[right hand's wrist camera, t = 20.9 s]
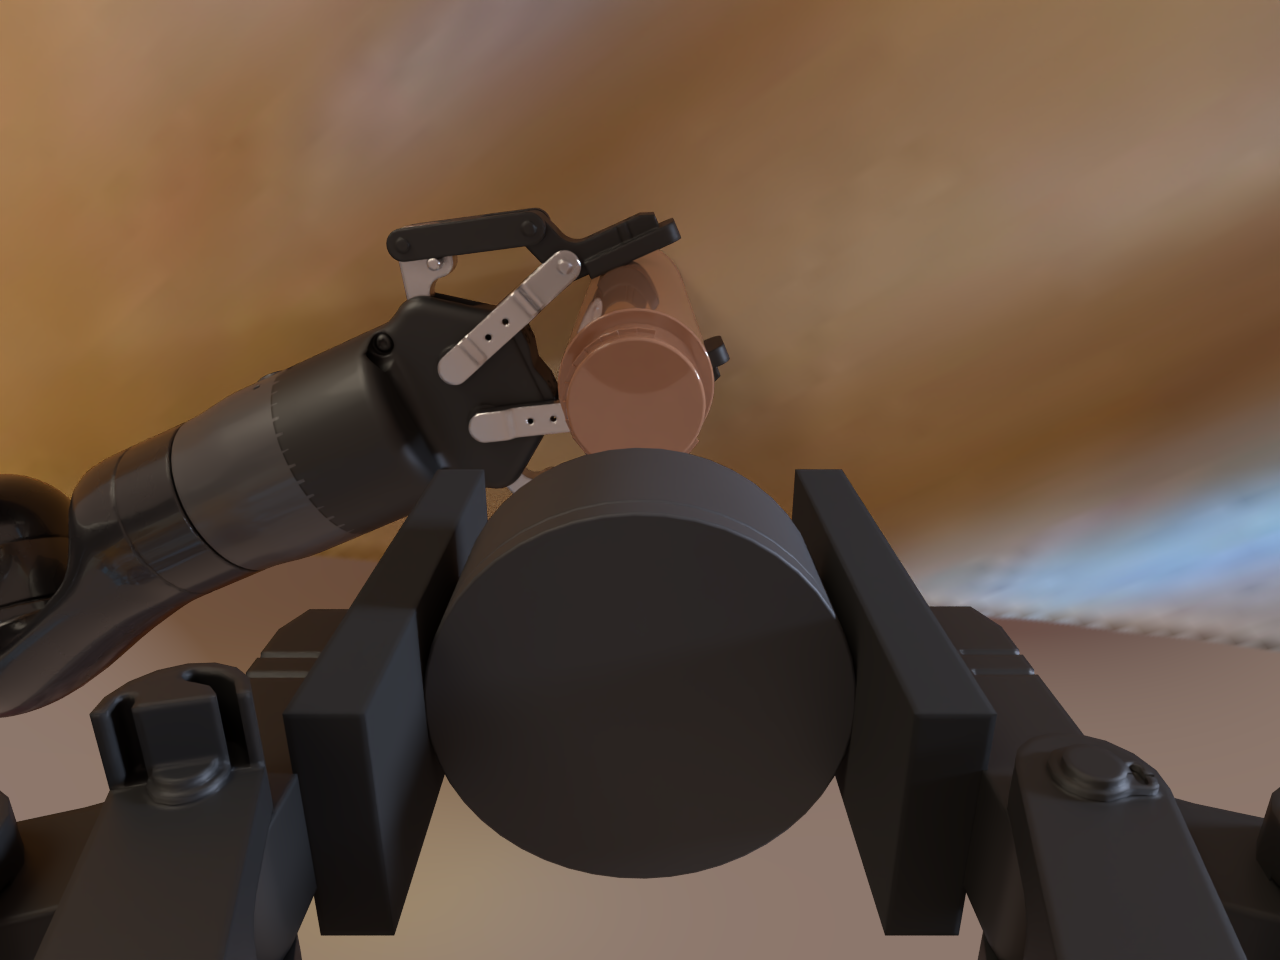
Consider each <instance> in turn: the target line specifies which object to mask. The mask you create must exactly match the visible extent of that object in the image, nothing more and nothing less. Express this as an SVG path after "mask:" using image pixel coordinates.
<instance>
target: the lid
mask: <svg viewBox="0 0 1280 960" xmlns="http://www.w3.org/2000/svg"><path fill="white" fill-rule="evenodd" d="M855 695H856V676H855V670H854V663H853V657H852V654H851V651H850V648H849V645H848V642H847V639H846V636H845V633H844V631H843V628H842V626H841V624H840V622H839V619H838V617H837V614H836V612H835V610H834V607H833V605H832V603H831V600H830V598H829V596H828V593H827V591H826V589H825V586H824V584H823V582H822V579H821V577H820V574H819V572H818V570H817V567H816V565H815V563H814V560H813V558H812V556H811V553H810V551H809V549H808V547H807V545H806V543H805V541H804V539H803V537H802V535H801V533H800V532H799V530H798V529H797V527H796V526H795V525H794V523H793V522H792V520H791V519H790V517H789V516H788V515H787V514H786V512H785V511H784V510H783V509H782V508H781V507H780V506H779V505H778V504H777V503H776V502H775V501H774V500H773V499H772V497H770V496H769V495H768V494H767V493H765V492H764V491H763V490H762V489H760V488H759V487H758V486H757V485H756V484H754V483H753V482H751V481H750V480H748V479H746V478H745V477H743V476H742V475H740V474H738V473H737V472H735V471H733V470H731V469H729V468H727V467H725V466H722V465H720V464H718V463H716V462H713V461H711V460H708V459H705V458H702V457H698V456H695V455H691V454H688V453H684V452H678V451H672V450H666V449H656V448H626V449H614V450H607V451H602V452H598V453H593V454H588V455H584V456H581V457H578V458H576V459H573V460H570V461H567V462H564V463H561V464H559V465H557V466H555V467H553V468H551V469H549V470H547V471H545V472H543V473H541V474H539V475H538V476H537V477H535V478H534V479H532V480H531V481H529V482H528V483H526V484H525V485H523V486H522V487H520V488H519V489H518V490H517V491H516V492H515V493H514V494H512V495H511V496H510V497H509V498H508V499H507V500H506V501H505V502H504V503H502V505H501V506H500V507H499V508H498V509H497V510H496V512H495V513H494V514H493V515H492V516H491V518H490V519H489V520H488V521H487V523H486V524H485V526H484V528H483V529H482V531H481V532H480V534H479V536H478V537H477V539H476V541H475V543H474V545H473V547H472V550H471V552H470V554H469V557H468V559H467V561H466V564H465V566H464V568H463V571H462V573H461V575H460V578H459V580H458V582H457V585H456V587H455V590H454V592H453V594H452V597H451V599H450V601H449V604H448V606H447V608H446V611H445V613H444V616H443V618H442V620H441V623H440V625H439V627H438V630H437V632H436V634H435V637H434V639H433V641H432V644H431V648H430V652H429V656H428V660H427V663H426V668H425V678H424V700H425V711H426V720H427V728H428V733H429V738H430V741H431V744H432V747H433V749H434V752H435V755H436V757H437V760H438V762H439V764H440V766H441V768H442V770H443V772H444V773H445V775H446V777H447V779H448V781H449V783H450V784H451V785H452V787H453V788H454V789H455V791H456V792H457V793H458V795H459V796H460V797H461V799H462V800H463V802H464V803H465V804H466V805H467V806H468V807H469V808H470V809H471V810H472V811H473V812H474V813H475V814H476V815H477V816H478V817H479V818H480V819H481V820H482V821H483V822H484V823H486V824H487V825H488V826H489V827H490V828H492V829H493V830H494V831H495V832H497V833H498V834H499V835H500V836H502V837H504V838H505V839H507V840H508V841H510V842H512V843H513V844H515V845H516V846H518V847H520V848H521V849H523V850H525V851H527V852H529V853H531V854H533V855H536V856H538V857H540V858H542V859H544V860H547V861H549V862H552V863H555V864H558V865H561V866H563V867H566V868H569V869H574V870H578V871H582V872H586V873H590V874H595V875H603V876H610V877H618V878H659V877H672V876H678V875H683V874H689V873H695V872H699V871H702V870H706V869H710V868H713V867H717V866H720V865H723V864H725V863H728V862H730V861H733V860H735V859H738V858H740V857H743V856H745V855H747V854H749V853H751V852H753V851H754V850H756V849H758V848H760V847H762V846H764V845H766V844H767V843H769V842H770V841H772V840H773V839H775V838H776V837H778V836H779V835H780V834H782V833H783V832H785V831H786V830H787V829H789V828H790V827H791V826H792V825H793V824H794V823H795V822H797V821H798V820H799V819H800V818H801V817H802V816H803V815H805V814H806V813H807V811H808V810H809V809H810V808H811V807H812V806H813V805H814V803H815V802H816V801H817V800H818V799H819V798H820V797H821V795H822V794H823V793H824V791H825V790H826V788H827V787H828V785H829V783H830V782H831V781H832V779H833V778H834V776H835V774H836V772H837V770H838V768H839V766H840V764H841V762H842V760H843V758H844V756H845V753H846V750H847V747H848V744H849V741H850V737H851V733H852V724H853V715H854V706H855Z"/></svg>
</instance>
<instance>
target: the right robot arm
mask: <svg viewBox="0 0 1280 960" xmlns="http://www.w3.org/2000/svg"><path fill="white" fill-rule="evenodd" d="M487 521H488V519H487V504H486V490H485V475H484V469H438V470H437V471H436V473H435V474H434V476H433V478H432V479H431V481H430V482H429V484H428V486H427V487H426V489H425V490H424V492H423V493H422V495H421V497H420V498H419V500H418V501H417V503H416V504H415V506H414V508H413V509H412V511H411V512H410V514H409V515H408V517H407V519H406V520H405V522H404V523H403V525H402V526H401V528H400V530H399V531H398V533H397V534H396V536H395V537H394V539H393V541H392V542H391V544H390V545H389V547H388V548H387V550H386V552H385V553H384V555H383V556H382V558H381V559H380V561H379V563H378V564H377V566H376V567H375V569H374V570H373V572H372V574H371V575H370V577H369V578H368V580H367V581H366V583H365V585H364V586H363V588H362V589H361V591H360V592H359V594H358V596H357V597H356V599H355V600H354V602H353V604H352V605H351V607H350V608H349V609H310V610H308V611H306V612H305V613H303V614H302V615H300V616H299V617H297V618H296V619H294V620H292V621H291V622H289V623H288V624H286V625H285V626H283V627H282V628H280V629H279V630H278V631H277V632H276V634H275V635H274V636H273V638H272V639H271V640H270V642H269V643H268V644H267V646H266V647H265V648H264V650H263V651H262V652H261V657H260V658H257V659H256V660H255V662H254V663H253V664H252V665H251V667H250V668H249V669H248V671H247V672H246V675H245V674H244V673H243V672H242V671H240V670H239V669H238V668H236V667H232V666H228V665H223V664H219V663H190V664H184V665H179V666H175V667H170V668H165V669H161V670H157V671H154V672H152V673H149V674H147V675H144V676H142V677H139V678H137V679H134V680H132V681H129V682H127V683H126V684H124V685H123V686H121V687H120V688H118V689H117V690H115V691H113V692H112V693H110V694H109V695H107V696H106V697H104V698H103V699H102V701H101V702H100V703H99V704H98V705H97V707H95V709H94V710H93V711H92V712H91V713H90V718H91V722H92V725H93V729H94V733H95V737H96V740H97V744H98V748H99V752H100V755H101V759H102V763H103V766H104V770H105V774H106V778H107V781H108V785H109V789H110V791H109V793H108V796H107V798H106V800H105V802H103V803H99V804H96V805H92V806H89V807H85V808H80V809H76V810H71V811H66V812H61V813H57V814H52V815H47V816H43V817H38V818H33V819H28V820H24V821H19V822H16V819H15V816H14V813H13V810H12V807H11V804H10V801H9V798H8V797H7V796H6V795H5V794H4V793H2V792H1V791H0V960H302V958H301V951H300V945H299V940H298V935H297V933H298V930H299V928H300V926H301V923H302V921H303V919H304V917H305V914H306V912H307V910H308V908H309V905H310V903H311V901H312V898H313V896H314V899H315V904H316V910H317V916H318V921H319V927H320V933H321V935H394V934H395V931H396V928H397V925H398V922H399V919H400V916H401V912H402V909H403V906H404V903H405V900H406V896H407V893H408V890H409V887H410V884H411V880H412V877H413V874H414V871H415V867H416V864H417V861H418V858H419V855H420V852H421V848H422V845H423V842H424V839H425V836H426V832H427V829H428V826H429V823H430V820H431V816H432V813H433V810H434V807H435V804H436V800H437V797H438V794H439V791H440V787H441V784H442V781H443V778H444V775H445V773H444V772H443V770H442V768H441V766H440V764H439V762H438V760H437V757H436V755H435V752H434V749H433V747H432V744H431V741H430V738H429V733H428V728H427V720H426V711H425V700H424V678H425V668H426V663H427V660H428V656H429V652H430V648H431V644H432V641H433V639H434V637H435V634H436V632H437V630H438V627H439V625H440V623H441V620H442V618H443V616H444V613H445V611H446V608H447V606H448V604H449V601H450V599H451V597H452V594H453V592H454V590H455V587H456V585H457V582H458V580H459V578H460V575H461V573H462V571H463V568H464V566H465V564H466V561H467V559H468V557H469V554H470V552H471V550H472V547H473V545H474V543H475V541H476V539H477V537H478V536H479V534H480V532H481V531H482V529H483V528H484V526H485V524H486V523H487ZM792 522H793V523H794V525H795V526H796V527H797V529H798V530H799V532H800V533H801V535H802V537H803V539H804V541H805V543H806V545H807V547H808V549H809V551H810V553H811V556H812V558H813V560H814V563H815V565H816V567H817V570H818V572H819V574H820V577H821V579H822V582H823V584H824V586H825V589H826V591H827V593H828V596H829V598H830V600H831V603H832V605H833V607H834V610H835V612H836V614H837V617H838V619H839V622H840V624H841V626H842V628H843V631H844V633H845V636H846V639H847V642H848V645H849V648H850V651H851V654H852V657H853V663H854V670H855V676H856V695H855V706H854V715H853V724H852V733H851V737H850V741H849V744H848V747H847V750H846V753H845V756H844V758H843V760H842V762H841V764H840V766H839V768H838V770H837V772H836V774H835V776H836V780H837V783H838V786H839V789H840V793H841V796H842V799H843V802H844V805H845V808H846V812H847V815H848V818H849V821H850V825H851V828H852V831H853V834H854V837H855V841H856V844H857V847H858V850H859V853H860V856H861V859H862V863H863V866H864V869H865V872H866V876H867V879H868V882H869V885H870V888H871V892H872V895H873V898H874V901H875V904H876V908H877V911H878V914H879V917H880V920H881V924H882V927H883V930H884V933H885V935H959V930H960V924H961V918H962V913H963V907H964V901H965V895H966V893H967V895H968V898H969V900H970V902H971V904H972V907H973V909H974V911H975V913H976V916H977V918H978V920H979V923H980V925H981V927H982V929H983V935H982V940H981V945H980V951H979V956H978V960H1280V788H1278V789H1277V790H1276V791H1274V792H1273V793H1272V795H1271V798H1270V802H1269V805H1268V808H1267V811H1266V814H1265V817H1264V818H1261V817H1256V816H1251V815H1246V814H1242V813H1236V812H1232V811H1227V810H1223V809H1218V808H1213V807H1208V806H1203V805H1199V804H1194V803H1191V802H1187V801H1183V800H1180V799H1176V798H1174V796H1173V794H1172V792H1171V790H1170V788H1169V787H1168V785H1167V784H1166V783H1165V781H1164V780H1163V779H1162V777H1161V776H1160V775H1159V773H1158V772H1157V771H1156V770H1155V769H1154V768H1152V767H1151V766H1150V765H1148V764H1147V763H1146V762H1144V761H1143V760H1142V759H1140V758H1139V757H1138V756H1136V755H1135V754H1133V753H1131V752H1129V751H1127V750H1125V749H1123V748H1120V747H1118V746H1116V745H1114V744H1112V743H1109V742H1107V741H1105V740H1101V739H1096V738H1092V737H1088V736H1084V735H1083V733H1082V732H1081V731H1080V729H1079V728H1078V727H1077V725H1076V724H1075V723H1074V721H1073V720H1072V719H1071V718H1070V716H1069V715H1068V714H1067V712H1066V711H1065V710H1064V708H1063V707H1062V706H1061V704H1060V703H1059V702H1058V700H1057V699H1056V698H1055V697H1054V695H1053V694H1052V693H1051V691H1050V690H1049V689H1048V687H1047V686H1046V685H1045V683H1044V682H1043V681H1042V680H1041V678H1040V677H1039V676H1038V675H1035V674H1034V669H1033V668H1032V666H1031V665H1030V664H1029V662H1028V661H1027V660H1026V658H1025V657H1024V656H1023V655H1019V649H1018V648H1017V647H1016V645H1015V644H1014V643H1013V641H1012V640H1011V639H1010V637H1009V636H1008V635H1007V633H1006V632H1005V631H1004V630H1003V628H1002V627H1001V626H1000V625H998V624H996V623H995V622H993V621H992V620H990V619H989V618H987V617H986V616H984V615H983V614H981V613H979V612H978V611H976V610H975V609H973V608H972V607H929V606H928V604H927V603H926V601H925V600H924V598H923V596H922V595H921V593H920V592H919V590H918V589H917V587H916V585H915V584H914V582H913V581H912V579H911V578H910V576H909V574H908V573H907V571H906V570H905V568H904V567H903V565H902V563H901V562H900V560H899V559H898V557H897V556H896V554H895V552H894V551H893V549H892V548H891V546H890V545H889V543H888V541H887V540H886V538H885V537H884V535H883V534H882V532H881V530H880V529H879V527H878V526H877V524H876V523H875V521H874V519H873V518H872V516H871V515H870V513H869V512H868V510H867V508H866V507H865V505H864V504H863V502H862V501H861V499H860V497H859V496H858V494H857V493H856V491H855V490H854V488H853V486H852V485H851V483H850V482H849V480H848V478H847V477H846V475H845V474H844V472H843V471H842V469H795V482H794V497H793V511H792Z"/></svg>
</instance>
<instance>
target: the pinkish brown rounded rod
mask: <svg viewBox="0 0 1280 960" xmlns="http://www.w3.org/2000/svg"><path fill="white" fill-rule="evenodd" d="M558 395H559V400H560V404H561V408H562V410H563V413H564V415H565V421H566V423H567V426H568V428H569V430H570V432H571V434H572V436H573V439H574V440H575V441H576V442H577V444H578V445H579V446H580V447H581V448H582V449H583V451H584V453H586V454H587V455H588V454H593V453H598V452H602V451H607V450H614V449H626V448H656V449H666V450H672V451H678V452H684V453H688V454H689V453H690V452H691V451H692V449H693V448H694V447H695V446H696V444H697V443H698V442H699V440H698V439H697V436H698V434H699V432H700V430H701V427H702V425H703V423H704V421H705V419H706V418H707V416H708V413H709V410H710V408H711V404H712V400H713V395H714V374H713V368H712V364H711V361H710V358H709V355H708V352H707V349H706V346H705V343H704V341H703V338H702V335H701V332H700V329H699V326H698V323H697V321H696V318H695V315H694V312H693V309H692V306H691V303H690V300H689V298H688V295H687V292H686V289H685V286H684V283H683V280H682V277H681V275H680V272H679V270H678V268H677V267H676V265H675V264H674V262H673V261H672V260H671V259H670V258H669V257H668V256H667V255H666V254H664V253H663V252H661V251H660V250H656V251H654V252H652V253H649V254H647V255H645V256H643V257H640V258H638V259H636V260H634V261H632V262H629V263H627V264H625V265H623V266H620V267H618V268H615V269H613V270H611V271H609V272H607V273H605V274H603V275H600V276H598V277H596V278H594V279H592V280H591V281H590V284H589V287H588V289H587V292H586V295H585V298H584V300H583V303H582V306H581V309H580V311H579V314H578V317H577V320H576V322H575V325H574V328H573V331H572V333H571V336H570V339H569V341H568V344H567V347H566V350H565V352H564V355H563V358H562V361H561V364H560V368H559V374H558Z"/></svg>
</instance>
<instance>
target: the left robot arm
mask: <svg viewBox="0 0 1280 960" xmlns="http://www.w3.org/2000/svg"><path fill="white" fill-rule="evenodd" d="M680 238H681V236H680V234H679V231H678V229H677V226H676V224H675V221H674V219H673V218H671V219H668V220H666V221H663V222H661V223H659V224H658V222H657V219H656V217H655V214H654V212H643V213H638V214H636V215H633V216H631V217H629V218H627V219H625V220H623V221H620V222H618V223H616V224H614V225H612V226H609V227H607V228H605V229H603V230H601V231H599V232H596V233H594V234H592V235H590V236H588V237H585V238H583V239H572V238H569V237H567V236H566V235H564V234H563V233H562V232H561V231H560V230H559V229H558V228H557V227H556V225H555V224H554V223H553V222H552V221H551V220H550V217H549V215H548V214H547V213H546V212H545V211H544V210H542V209H540V208H529V209H522V210H514V211H507V212H499V213H492V214H485V215H477V216H470V217H462V218H455V219H447V220H440V221H432V222H425V223H417V224H412V225H409V226H405V227H402V228H400V229H396V230H394V231H393V232H391V233H390V235H389V236H388V238H387V243H386V244H387V250H388V252H389V254H390V255H391V256H392V257H393V258H394V259H395V260H397V261H399V264H400V269H401V273H402V278H403V282H404V287H405V291H406V296H407V301H405V302H404V303H403V304H402V305H401V306H400V307H399V309H398V311H397V312H396V314H395V315H394V316H393V318H392V319H391V320H390V321H389V322H387V323H385V324H383V325H381V326H379V327H377V328H375V329H372V330H370V331H368V332H366V333H364V334H362V335H359V336H357V337H355V338H353V339H351V340H348V341H346V342H344V343H342V344H340V345H338V346H335V347H333V348H331V349H329V350H327V351H325V352H322V353H320V354H318V355H316V356H314V357H312V358H309V359H307V360H305V361H303V362H301V363H298V364H296V365H294V366H292V367H290V368H288V369H285V370H283V371H277V372H274V373H271V374H268V375H266V376H264V377H262V378H261V379H260V380H259V381H258V382H257V383H255V384H253V385H250V386H248V387H246V388H244V389H241V390H239V391H237V392H235V393H233V394H231V395H230V396H228V397H226V398H224V399H223V400H221V401H220V402H218V403H217V404H215V405H214V406H212V407H211V408H209V409H208V410H206V411H205V412H203V413H202V414H200V415H198V416H196V417H195V418H193V419H191V420H189V421H187V422H185V423H182V424H180V425H178V426H176V427H174V428H171V429H169V430H167V431H165V432H163V433H161V434H158V435H156V436H154V437H152V438H150V439H147V440H145V441H143V442H141V443H139V444H136V445H134V446H132V447H130V448H128V449H125V450H123V451H121V452H119V453H117V454H115V455H113V456H111V457H109V458H107V459H105V460H103V461H102V462H100V463H98V464H97V465H95V466H94V467H92V468H91V469H90V470H89V471H87V472H86V473H85V474H84V475H83V477H82V478H81V480H80V481H79V483H78V484H77V486H76V487H75V489H74V492H73V494H72V498H71V500H70V499H69V498H68V497H67V496H66V495H65V494H63V493H62V492H61V491H60V490H58V489H56V488H55V487H53V486H51V485H49V484H47V483H45V482H42V481H40V480H37V479H34V478H31V477H27V476H22V475H13V474H0V718H1V717H9V716H15V715H19V714H23V713H27V712H30V711H33V710H36V709H39V708H42V707H44V706H46V705H49V704H51V703H53V702H55V701H57V700H59V699H61V698H63V697H65V696H67V695H69V694H70V693H72V692H74V691H75V690H77V689H79V688H80V687H82V686H83V685H85V684H86V683H87V682H89V681H90V680H92V679H93V678H94V677H96V676H97V675H98V674H100V673H101V672H102V671H104V670H105V669H106V668H108V667H109V666H110V665H111V664H112V663H114V662H115V661H116V660H117V659H118V658H119V657H121V656H122V655H123V654H124V653H125V652H126V651H127V650H128V649H130V648H131V647H132V646H133V645H134V644H135V643H136V642H137V641H139V640H140V639H141V638H142V637H143V636H144V635H146V634H147V633H148V632H149V631H150V630H152V629H153V628H154V627H155V626H157V625H158V624H159V623H161V622H162V621H164V620H165V619H166V618H167V617H169V616H170V615H172V614H173V613H174V612H176V611H177V610H179V609H180V608H181V607H183V606H184V605H186V604H188V603H189V602H191V601H193V600H195V599H197V598H199V597H201V596H203V595H206V594H208V593H210V592H212V591H215V590H217V589H220V588H222V587H225V586H227V585H229V584H232V583H234V582H236V581H239V580H241V579H244V578H246V577H248V576H251V575H253V574H255V573H258V572H260V571H263V570H265V569H267V568H270V567H272V566H275V565H279V564H282V563H286V562H290V561H294V560H298V559H302V558H305V557H309V556H312V555H314V554H317V553H320V552H322V551H325V550H327V549H330V548H332V547H334V546H337V545H339V544H342V543H344V542H346V541H349V540H351V539H354V538H356V537H358V536H360V535H363V534H365V533H368V532H370V531H373V530H375V529H377V528H380V527H382V526H384V525H387V524H389V523H392V522H394V521H396V520H399V519H401V518H403V517H406V516H408V515H409V514H410V512H411V511H412V509H413V508H414V506H415V504H416V503H417V501H418V500H419V498H420V497H421V495H422V493H423V492H424V490H425V489H426V487H427V486H428V484H429V482H430V481H431V479H432V478H433V476H434V474H435V473H436V471H437V470H438V469H484V475H485V488H504V487H507V488H508V489H509V490H510V491H511V492H512V493H513V494H514V493H515V492H516V491H517V490H518V489H519V488H520V487H522V486H523V485H525V484H526V483H528V482H529V481H531V480H532V479H534V478H535V477H537V476H538V475H539V474H541V473H543V472H545V471H547V470H549V469H551V468H553V467H548V468H546V469H545V470H543V471H539V472H534V471H530V470H528V469H527V468H526V466H527V464H528V462H529V460H530V459H531V457H532V455H533V454H534V452H535V450H536V448H537V447H538V445H539V443H540V441H541V440H542V438H543V436H544V435H545V434H554V433H564V432H570V430H569V428H568V426H567V423H566V421H565V415H564V413H563V410H562V408H561V404H560V400H559V398H558V396H559V395H558V383H557V381H556V379H555V377H554V375H553V373H552V371H551V369H550V368H549V367H548V366H547V365H546V364H545V362H544V361H543V360H542V359H541V358H540V356H539V355H538V350H537V345H536V340H535V336H534V334H533V331H532V329H531V327H530V325H529V322H530V321H531V320H532V319H533V318H534V317H535V316H536V315H537V314H538V313H539V312H540V311H541V310H542V309H543V308H544V307H545V306H546V305H548V304H549V303H550V302H551V301H552V300H553V299H554V298H555V297H556V296H557V295H559V294H560V293H561V292H562V291H563V290H564V289H565V288H566V287H567V286H569V285H570V284H571V283H572V282H573V281H575V280H577V279H579V278H582V277H584V276H586V275H588V274H589V275H590V277H591V280H592V279H594V278H596V277H598V276H600V275H603V274H605V273H607V272H609V271H611V270H613V269H615V268H618V267H620V266H623V265H625V264H627V263H629V262H632V261H634V260H636V259H638V258H640V257H643V256H645V255H647V254H649V253H652V252H654V251H656V250H658V249H660V248H663V247H665V246H667V245H669V244H671V243H674V242H676V241H677V240H679V239H680ZM523 246H525V247H526V248H527V249H528V250H529V251H530V252H531V253H532V254H533V255H534V256H535V257H536V258H537V259H538V260H539V261H540V262H541V263H542V264H541V265H540V266H539V267H538V268H537V269H536V270H535V271H534V272H533V273H531V274H530V275H529V276H528V277H527V278H526V279H525V280H524V281H522V282H521V283H520V284H519V285H518V286H517V287H516V288H515V289H514V290H513V291H512V292H511V293H509V294H508V295H507V296H506V297H505V298H504V299H503V300H502V301H501V302H500V303H499V304H498V305H496V306H495V305H490V304H485V303H481V302H476V301H472V300H467V299H462V298H458V297H453V296H449V295H444V294H439V293H435V284H436V281H437V280H438V279H439V278H441V277H444V276H446V275H448V274H449V273H451V272H452V271H453V270H454V269H455V268H456V265H457V255H463V254H470V253H478V252H485V251H493V250H500V249H508V248H516V247H523ZM704 343H705V346H706V349H707V352H708V355H709V358H710V361H711V364H712V368H713V374H714V382H715V381H716V380H717V379H718V378H719V377H720V373H719V371H718V368H717V367H718V366H720V365H722V364H724V363H726V362H727V361H728V360H729V359H730V358H729V355H728V353H727V350H726V348H725V345H724V343H723V341H722V338H721V336H715V337H712V338H709V339H707V340H704ZM554 416H555V417H556V418H554ZM586 455H587V454H586Z"/></svg>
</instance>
